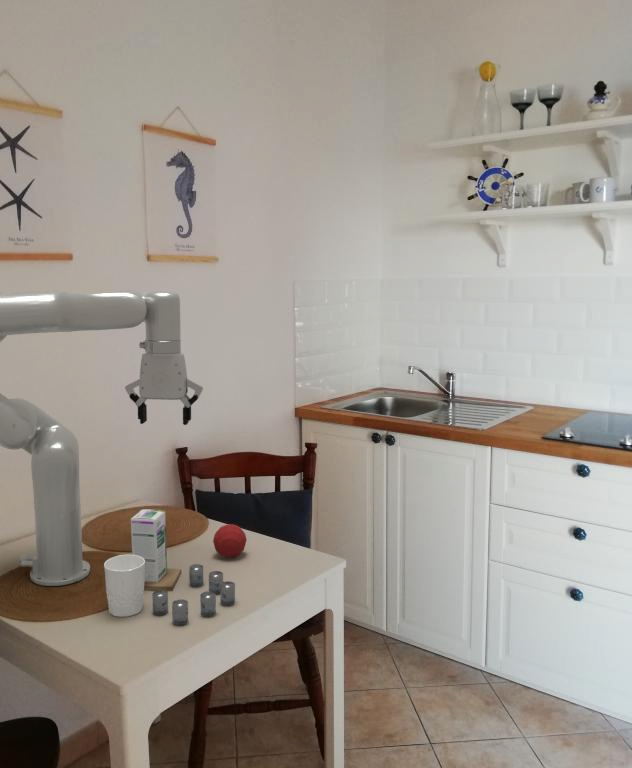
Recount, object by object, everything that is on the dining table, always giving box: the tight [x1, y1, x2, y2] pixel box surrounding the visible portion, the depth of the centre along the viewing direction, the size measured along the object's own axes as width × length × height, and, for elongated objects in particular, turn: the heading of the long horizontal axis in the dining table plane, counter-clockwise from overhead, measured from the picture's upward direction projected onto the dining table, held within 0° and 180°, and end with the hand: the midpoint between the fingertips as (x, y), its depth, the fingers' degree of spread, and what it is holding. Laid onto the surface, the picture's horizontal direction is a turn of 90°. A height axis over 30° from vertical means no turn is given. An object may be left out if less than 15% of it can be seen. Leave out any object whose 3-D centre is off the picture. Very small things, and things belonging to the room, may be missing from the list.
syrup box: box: [130, 508, 168, 583], centre depth 154 cm, size 6×6×14 cm
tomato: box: [212, 524, 247, 558], centre depth 170 cm, size 8×8×8 cm
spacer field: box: [151, 563, 236, 627], centre depth 146 cm, size 16×20×4 cm
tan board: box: [144, 567, 182, 592], centre depth 156 cm, size 11×9×1 cm
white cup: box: [103, 554, 145, 618], centre depth 142 cm, size 8×8×10 cm
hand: (164, 423), depth 160 cm, fingers open, 9 cm apart
